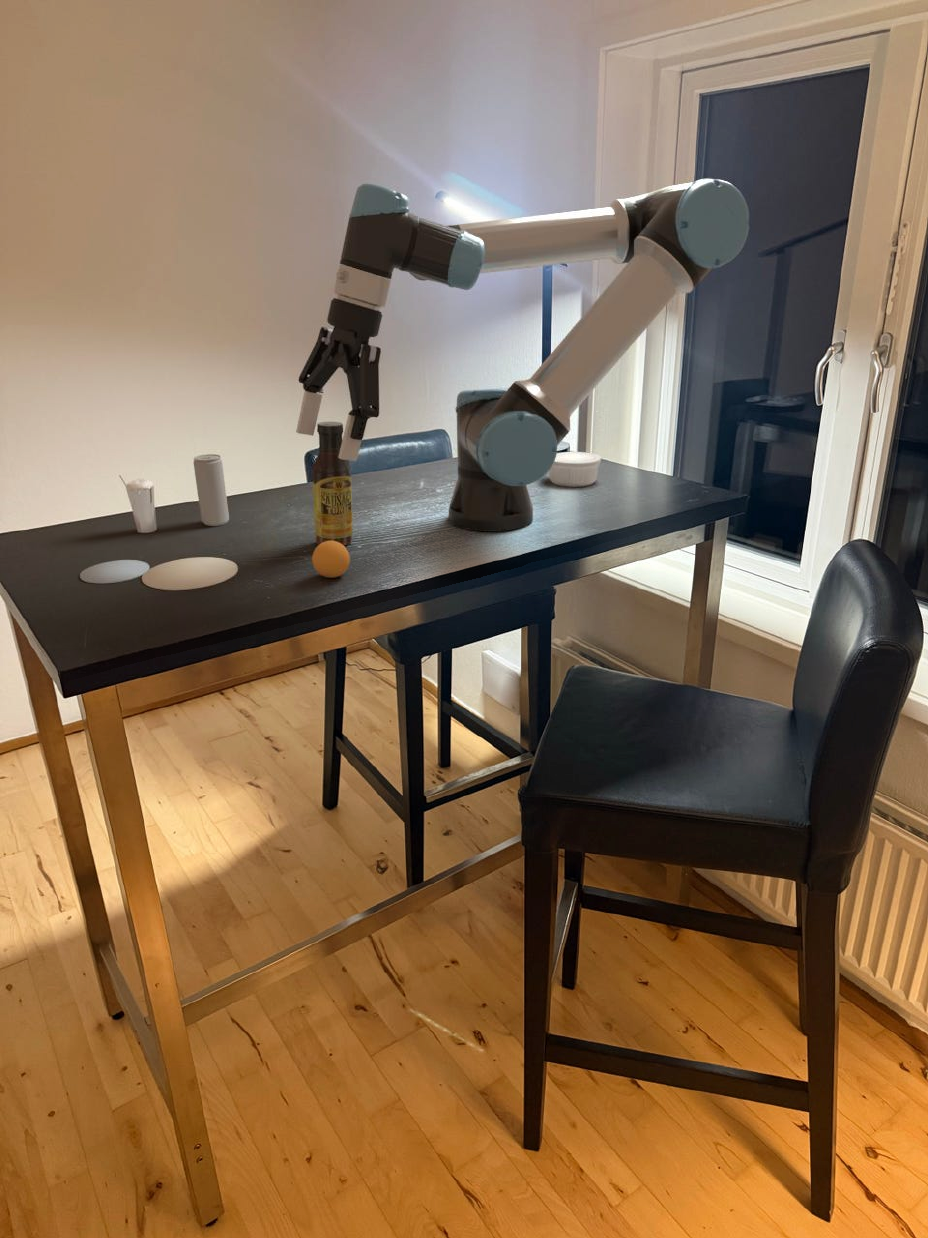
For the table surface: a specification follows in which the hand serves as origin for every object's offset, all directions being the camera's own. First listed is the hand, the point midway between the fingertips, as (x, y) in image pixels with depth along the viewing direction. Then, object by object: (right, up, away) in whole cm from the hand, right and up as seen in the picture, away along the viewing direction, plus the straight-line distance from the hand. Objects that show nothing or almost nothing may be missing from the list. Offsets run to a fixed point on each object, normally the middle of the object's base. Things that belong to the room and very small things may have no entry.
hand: (325, 446), depth 130 cm
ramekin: (+44, +2, +49) cm, 66 cm away
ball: (+1, -17, -3) cm, 18 cm away
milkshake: (-35, -11, +21) cm, 43 cm away
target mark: (-20, -19, 0) cm, 28 cm away
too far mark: (-32, -19, +1) cm, 38 cm away
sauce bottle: (0, -14, +13) cm, 19 cm away
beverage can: (-24, -9, +25) cm, 36 cm away
